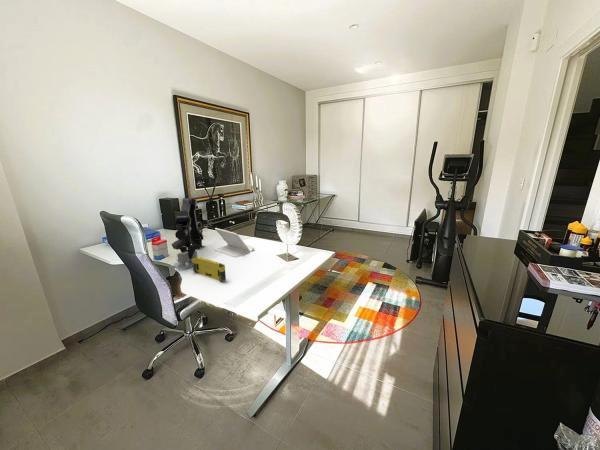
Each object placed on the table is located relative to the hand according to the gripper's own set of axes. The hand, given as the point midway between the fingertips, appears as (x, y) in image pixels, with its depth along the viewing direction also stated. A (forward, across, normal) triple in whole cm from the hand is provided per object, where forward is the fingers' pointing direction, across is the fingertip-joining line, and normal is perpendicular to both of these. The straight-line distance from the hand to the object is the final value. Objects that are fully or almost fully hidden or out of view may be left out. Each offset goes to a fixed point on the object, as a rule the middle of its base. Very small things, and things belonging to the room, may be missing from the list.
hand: (187, 258), depth 156 cm
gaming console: (+4, +26, -6) cm, 27 cm away
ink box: (+4, -26, -2) cm, 26 cm away
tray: (+4, 0, 0) cm, 4 cm away
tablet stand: (+4, +7, +34) cm, 35 cm away
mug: (+4, -43, +36) cm, 56 cm away
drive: (+1, 0, 0) cm, 1 cm away
